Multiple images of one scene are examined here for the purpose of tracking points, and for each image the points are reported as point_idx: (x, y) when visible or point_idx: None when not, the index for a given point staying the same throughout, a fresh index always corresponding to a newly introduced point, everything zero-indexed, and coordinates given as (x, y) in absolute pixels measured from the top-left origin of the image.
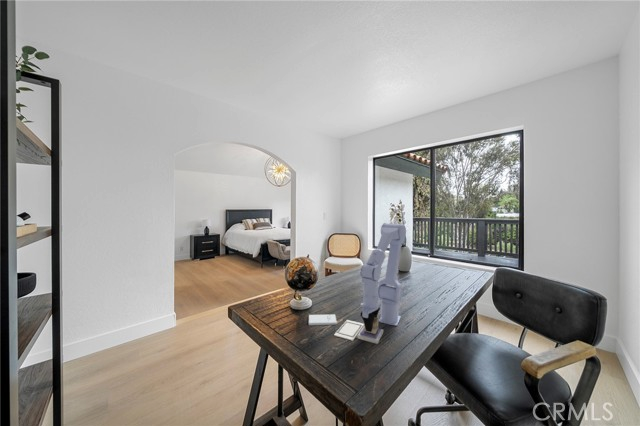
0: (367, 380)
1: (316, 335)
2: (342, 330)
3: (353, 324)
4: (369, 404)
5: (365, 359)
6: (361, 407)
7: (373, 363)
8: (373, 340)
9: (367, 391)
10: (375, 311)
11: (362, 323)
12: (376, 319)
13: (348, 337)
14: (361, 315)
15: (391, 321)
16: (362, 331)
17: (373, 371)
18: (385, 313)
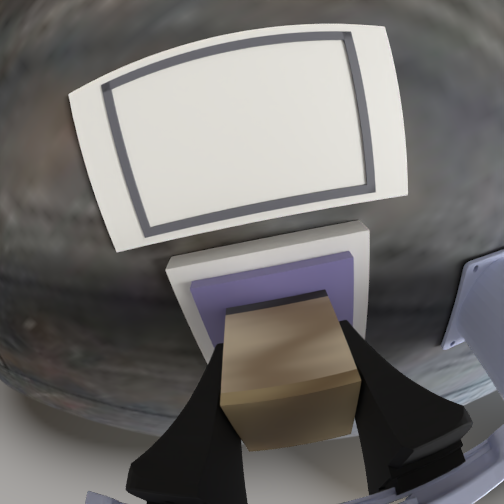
0: (39, 380)
1: (21, 27)
2: (167, 90)
3: (347, 114)
4: (18, 391)
5: (78, 359)
6: (4, 381)
7: (91, 383)
8: (208, 360)
9: (26, 385)
10: (372, 468)
11: (406, 181)
12: (313, 439)
13: (114, 209)
14: (129, 476)
15: (461, 333)
16: (228, 291)
17: (70, 388)
18: (493, 336)
